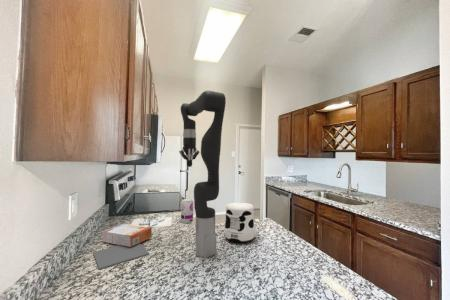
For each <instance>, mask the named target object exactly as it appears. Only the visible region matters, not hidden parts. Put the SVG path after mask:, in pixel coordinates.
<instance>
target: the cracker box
mask: <svg viewBox="0 0 450 300" xmlns="http://www.w3.org/2000/svg"><path fill="white" fill-rule="evenodd" d="M152 233H153V232H152V226H146V225H145V226H144V225H138V224H137V225H136V224H130V223H123V224H120V225H117V226H114V227H111V228H108V229H106V230H104V231H102V242H103V243H108V244H113V245H116V246H118V245H122V246H128V247H132V246H134V245H137V244H139V243H140V244H141V243H143V242H145V241H146V240H148V239H151V238H152V237H153V234H152Z"/></svg>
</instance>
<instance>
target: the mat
mask: <svg viewBox="0 0 450 300" xmlns="http://www.w3.org/2000/svg"><path fill="white" fill-rule="evenodd" d="M92 253H93V257H94V260H95V263H96V266H97V268H98V270H99V271H100V270H103V269H107V268H110V267H113V266H116V265H120V264H123V263H125V262H126V263H127V262H129V261H134V260H136V259H139V258H143V257H146V256H149V255H150V252H149V251H148V250H147V249H146V248H145V247H144V245H143V244H141V243H139V244H137V245H134V246H132V247H128V246H122V245H115V246H112V247H108V248H107V247H106V248H103V249H100V250H95V251H93V252H92Z"/></svg>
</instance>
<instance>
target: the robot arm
mask: <svg viewBox="0 0 450 300" xmlns="http://www.w3.org/2000/svg"><path fill="white" fill-rule="evenodd" d="M226 99H227V98H226V96H225V94H224V93H222V92H218V91H213V90H204V91H203V92H202V93H201V94H200V95H199V96H198V97H197V98H196V99H195V100H194V101H191V102H190V103H187V102H186V103H182V104H181V106H180V114H181V116H182V122H183V133H182V140H183V141H182V146H183V147H182V148H181V150H179V151H178V152H179V154H180V156H181V157H182V159H184V161H185V160H186V166H187V167H192V166H193V161H194V160H196V158H197V156H199V154H200V155H201V159H202V161H203V163H204V165H205V167H206V169H207V181H200V182H199V181H198V182H196V184H195V185H194V187H193V209H194V211H195V255H196V256H198V257H199V258H200V257H201V258H204V259H207V258H210V257H213V256H215V255H217V233H216V210H215V208H213V207H209V206H208V202H209V201H214V200H216V199H217V198H218V197H219V193H220V160H221V159H220V157H221V149H222V148H221V146H222V133H223V131H222V130H223V124H224V123H223V122H224V116H225V111H226ZM204 111H205V112H210V113H214V114H213V119H212V123H211V124H210V126H209V127H208V129H207V130H206V132H205V133H204V134H203V136H202V139H201V143H200V150H198V149H197V147H196V146H197V132H196V130H197V129H196V126H197V123H196V121H195V119H194V120H193V119H191V118H189V117H197V116H198V115H199V114H201V113H203V112H204Z"/></svg>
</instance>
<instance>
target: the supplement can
mask: <svg viewBox="0 0 450 300" xmlns="http://www.w3.org/2000/svg"><path fill="white" fill-rule="evenodd" d="M193 221H194V199H193V198H184V199H182V200H181V202H180V222H181V223H182V224H191V223H193Z"/></svg>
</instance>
